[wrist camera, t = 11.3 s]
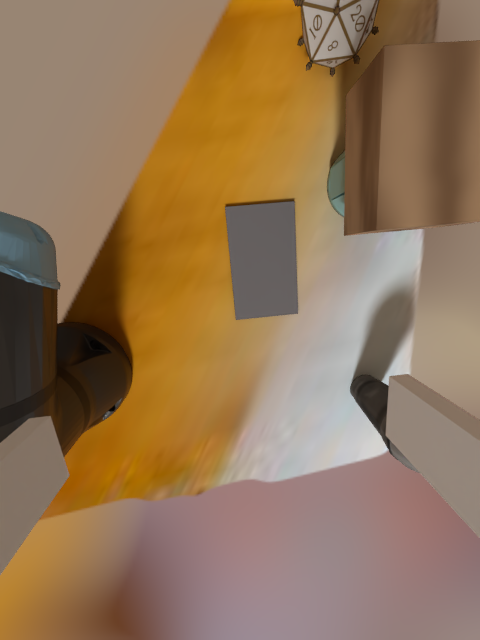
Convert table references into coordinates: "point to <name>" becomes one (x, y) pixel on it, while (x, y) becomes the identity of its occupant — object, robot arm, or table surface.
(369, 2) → the game die
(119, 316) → the table surface
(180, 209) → the table surface
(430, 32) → the table surface
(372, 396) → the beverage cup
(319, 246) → the table surface
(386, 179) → the brown wooden block
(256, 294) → the mat
